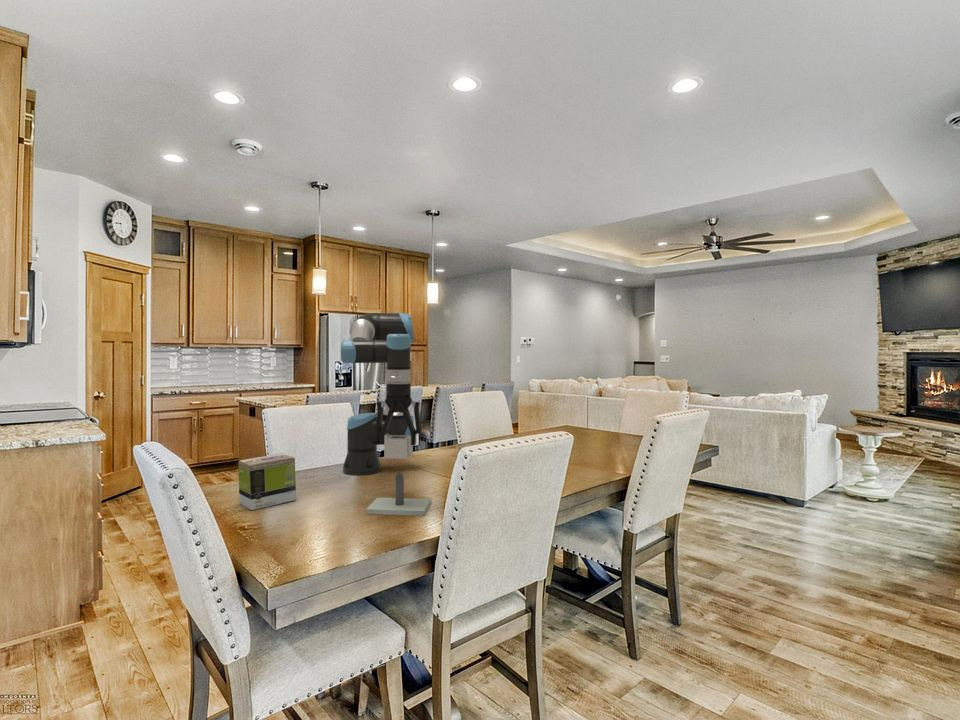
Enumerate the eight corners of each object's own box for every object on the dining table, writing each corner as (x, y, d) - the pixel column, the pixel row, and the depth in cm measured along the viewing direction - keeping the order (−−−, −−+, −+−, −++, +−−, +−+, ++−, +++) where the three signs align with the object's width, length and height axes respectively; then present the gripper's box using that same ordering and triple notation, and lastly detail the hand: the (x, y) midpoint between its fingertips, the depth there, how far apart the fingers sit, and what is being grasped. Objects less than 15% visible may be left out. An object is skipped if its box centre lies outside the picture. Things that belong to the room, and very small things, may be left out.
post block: (377, 502, 172) (377, 466, 172) (430, 503, 171) (431, 468, 170) (366, 513, 160) (366, 476, 160) (423, 515, 159) (423, 477, 158)
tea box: (283, 494, 180) (283, 452, 180) (296, 501, 173) (296, 457, 172) (238, 504, 170) (237, 459, 169) (250, 511, 162) (249, 464, 162)
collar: (390, 453, 168) (390, 435, 168) (411, 454, 168) (411, 435, 168) (384, 458, 162) (384, 438, 161) (406, 458, 161) (406, 439, 161)
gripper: (364, 383, 161) (364, 456, 162) (427, 384, 159) (427, 458, 160) (371, 381, 169) (371, 451, 170) (432, 382, 167) (431, 453, 168)
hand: (398, 455), depth 165 cm, fingers closed on collar, 7 cm apart
